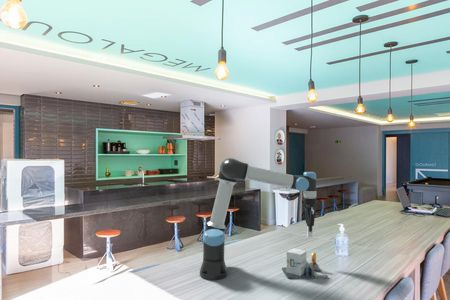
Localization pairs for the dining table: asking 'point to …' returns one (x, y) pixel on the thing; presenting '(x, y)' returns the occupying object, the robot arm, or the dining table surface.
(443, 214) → the dining table surface
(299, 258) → the ink box
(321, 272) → the rails
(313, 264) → the lever
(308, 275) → the bed
